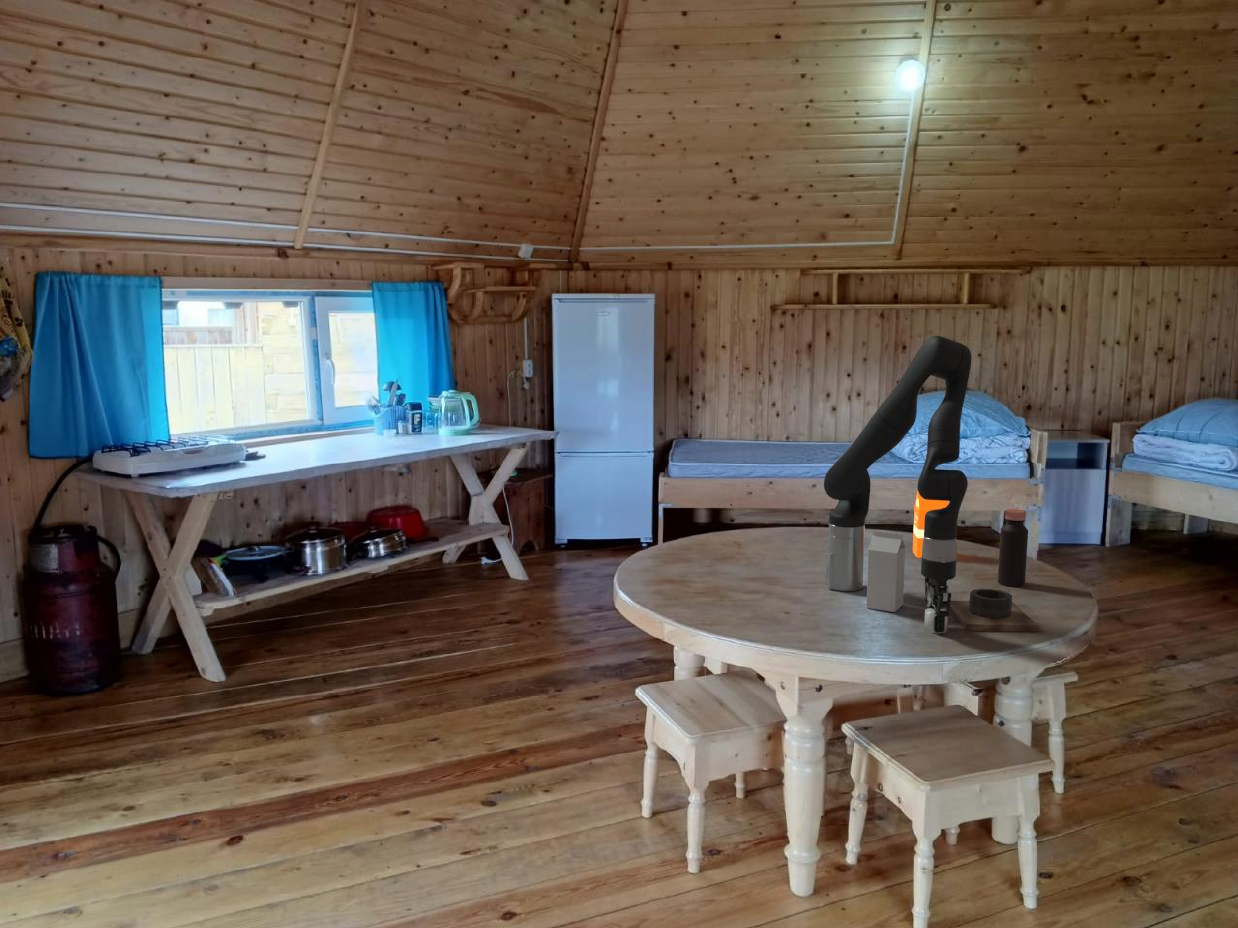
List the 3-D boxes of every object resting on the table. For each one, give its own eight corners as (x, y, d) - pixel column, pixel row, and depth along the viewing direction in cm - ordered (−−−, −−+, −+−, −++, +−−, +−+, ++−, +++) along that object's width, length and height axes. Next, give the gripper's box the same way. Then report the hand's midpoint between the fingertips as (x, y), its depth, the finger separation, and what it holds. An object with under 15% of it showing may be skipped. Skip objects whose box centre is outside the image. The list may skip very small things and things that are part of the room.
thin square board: (966, 630, 217) (967, 605, 216) (945, 606, 234) (946, 583, 233) (1037, 631, 216) (1039, 606, 215) (1011, 607, 233) (1012, 583, 232)
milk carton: (894, 612, 230) (898, 537, 227) (866, 608, 233) (868, 533, 230) (903, 605, 236) (906, 531, 233) (874, 600, 239) (877, 527, 236)
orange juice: (912, 551, 288) (915, 487, 285) (942, 552, 287) (945, 487, 284) (916, 557, 281) (919, 491, 278) (947, 558, 280) (950, 492, 276)
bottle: (993, 580, 257) (998, 508, 254) (1019, 580, 257) (1023, 508, 254) (1003, 587, 250) (1007, 513, 247) (1029, 587, 250) (1033, 513, 247)
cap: (927, 633, 215) (928, 614, 214) (921, 626, 220) (922, 607, 219) (949, 633, 215) (950, 614, 214) (943, 626, 219) (944, 608, 219)
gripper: (914, 548, 222) (911, 617, 224) (930, 564, 208) (926, 638, 210) (947, 548, 221) (943, 618, 224) (965, 564, 207) (961, 638, 210)
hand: (935, 627), depth 217 cm, fingers closed on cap, 5 cm apart
